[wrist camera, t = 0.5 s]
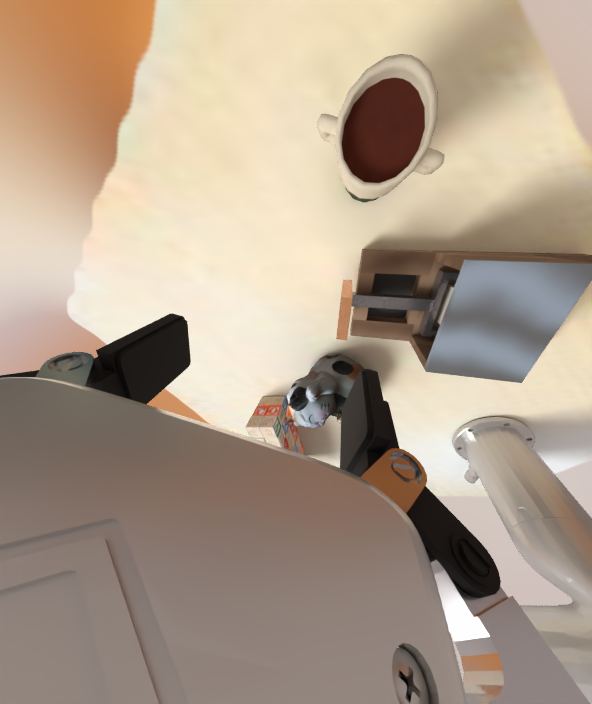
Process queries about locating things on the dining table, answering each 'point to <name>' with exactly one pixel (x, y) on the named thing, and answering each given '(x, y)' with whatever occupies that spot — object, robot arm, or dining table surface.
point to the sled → (396, 303)
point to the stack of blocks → (274, 424)
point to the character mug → (385, 127)
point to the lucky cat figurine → (322, 391)
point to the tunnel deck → (474, 306)
